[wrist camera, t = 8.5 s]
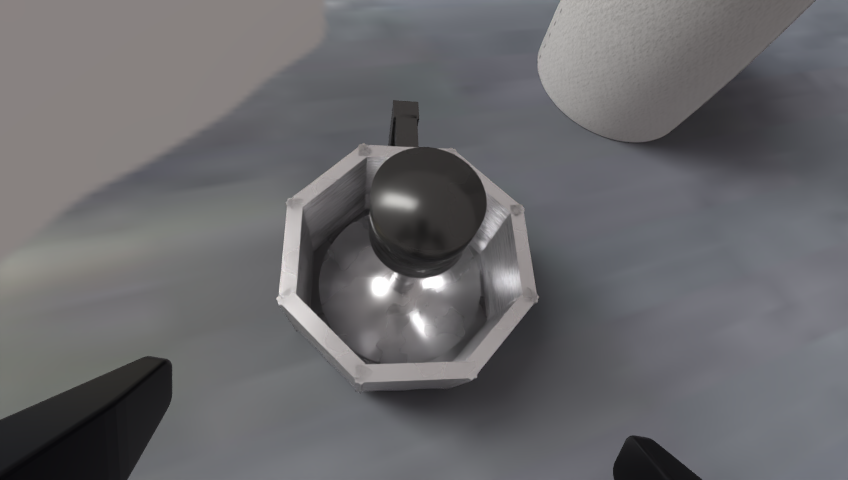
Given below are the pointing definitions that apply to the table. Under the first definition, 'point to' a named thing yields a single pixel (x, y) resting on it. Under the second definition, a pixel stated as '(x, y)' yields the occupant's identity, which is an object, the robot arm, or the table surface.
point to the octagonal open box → (350, 201)
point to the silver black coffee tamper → (408, 261)
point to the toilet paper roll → (652, 58)
